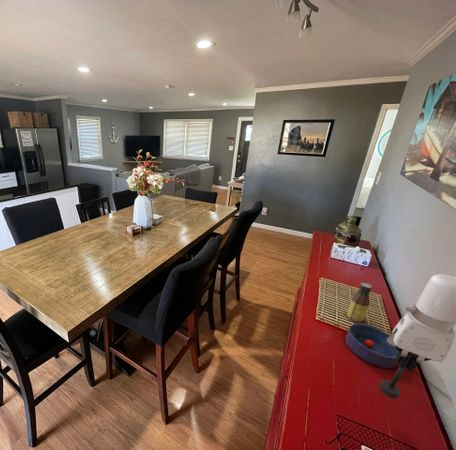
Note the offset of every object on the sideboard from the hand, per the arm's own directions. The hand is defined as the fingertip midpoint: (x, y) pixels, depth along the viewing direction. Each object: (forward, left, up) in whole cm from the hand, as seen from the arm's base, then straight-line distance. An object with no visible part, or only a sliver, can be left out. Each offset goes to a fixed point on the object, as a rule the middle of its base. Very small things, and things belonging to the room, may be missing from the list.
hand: (403, 365), depth 72 cm
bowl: (+19, -20, -20) cm, 34 cm away
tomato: (+20, -21, -18) cm, 34 cm away
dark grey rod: (0, 0, -12) cm, 12 cm away
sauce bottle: (+35, -30, -20) cm, 50 cm away
